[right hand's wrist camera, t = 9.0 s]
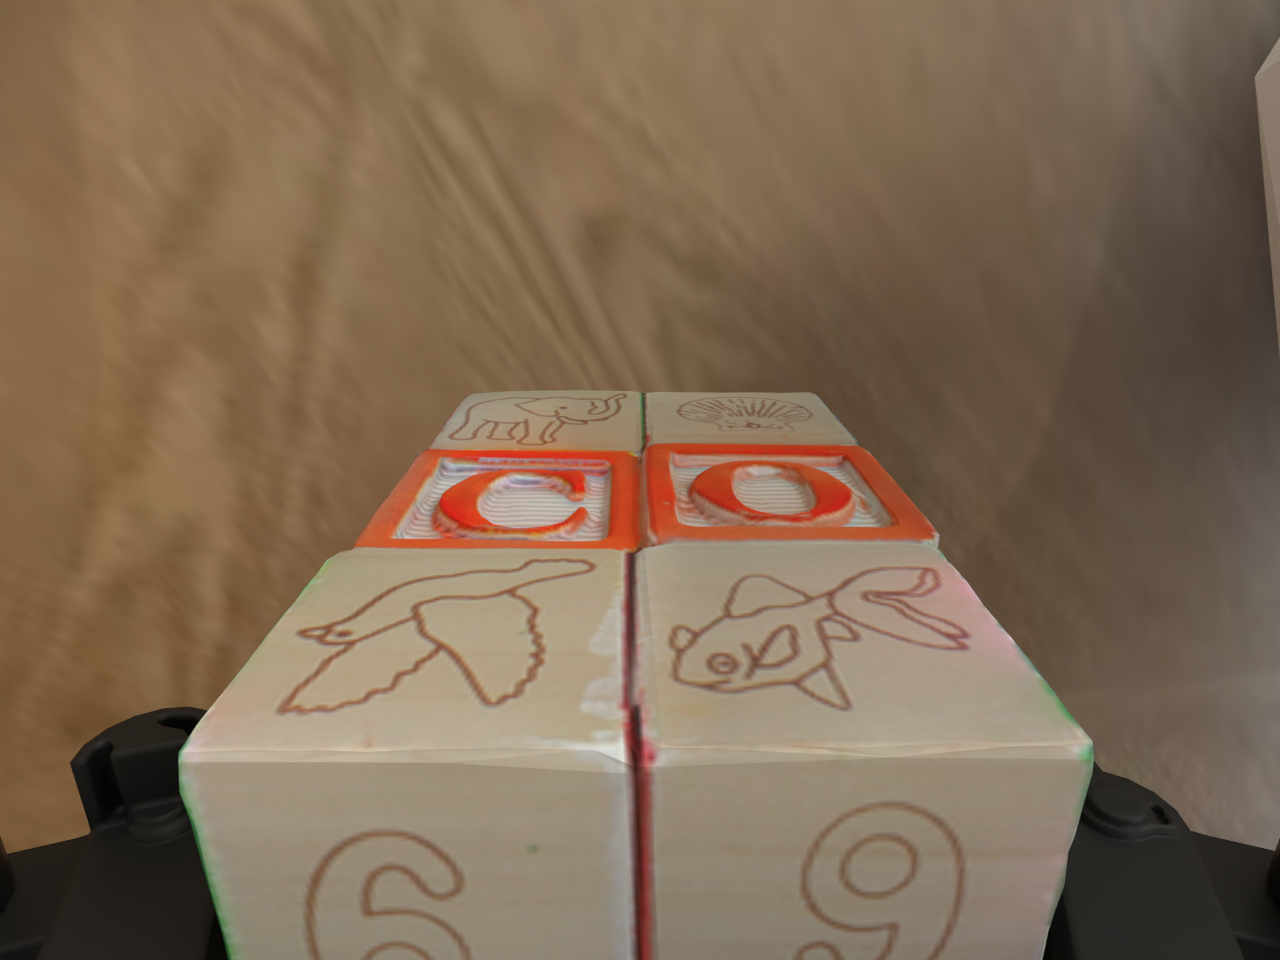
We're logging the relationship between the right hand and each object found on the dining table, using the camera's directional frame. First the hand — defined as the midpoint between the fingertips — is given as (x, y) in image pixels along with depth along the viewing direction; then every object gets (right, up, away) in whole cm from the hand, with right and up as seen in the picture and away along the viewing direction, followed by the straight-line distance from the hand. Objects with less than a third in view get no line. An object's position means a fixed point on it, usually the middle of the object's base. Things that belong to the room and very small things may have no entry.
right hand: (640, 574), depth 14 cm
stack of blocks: (0, -7, +3) cm, 7 cm away
